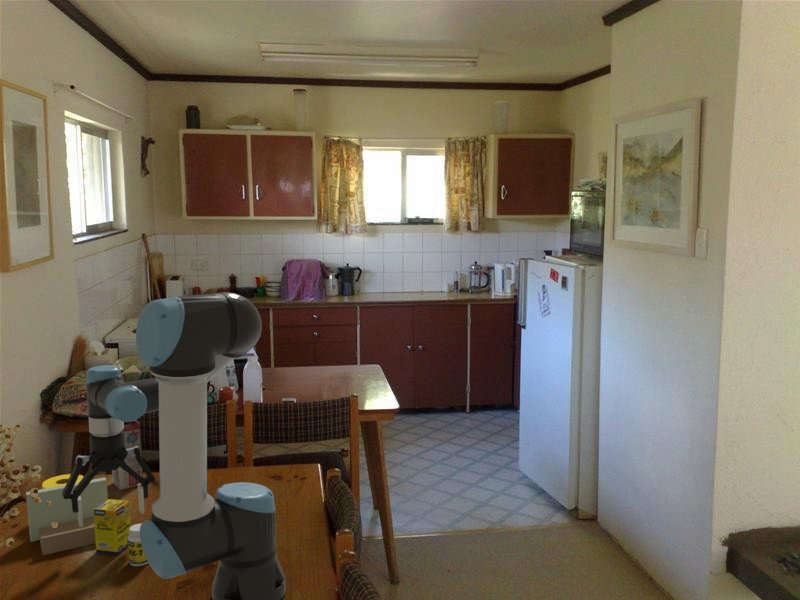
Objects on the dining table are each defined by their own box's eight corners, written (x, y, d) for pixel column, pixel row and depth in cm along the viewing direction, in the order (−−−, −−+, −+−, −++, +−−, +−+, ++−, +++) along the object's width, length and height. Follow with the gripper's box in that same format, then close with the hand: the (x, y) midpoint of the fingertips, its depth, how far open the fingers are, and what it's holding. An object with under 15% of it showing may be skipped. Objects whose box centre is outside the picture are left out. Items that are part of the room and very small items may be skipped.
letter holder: (115, 538, 172) (112, 492, 171) (33, 557, 163) (29, 508, 162) (108, 521, 182) (105, 477, 180) (29, 538, 173) (26, 492, 171)
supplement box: (118, 555, 164) (115, 510, 163) (95, 553, 165) (92, 508, 164) (132, 543, 170) (130, 500, 169) (110, 541, 171) (107, 498, 170)
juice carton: (135, 477, 211) (131, 406, 209) (143, 484, 206) (139, 411, 203) (112, 483, 207) (108, 410, 204) (120, 489, 202) (115, 415, 199)
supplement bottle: (125, 566, 159) (122, 531, 158) (135, 556, 164) (133, 521, 163) (144, 567, 159) (142, 532, 157) (155, 557, 163) (153, 522, 162)
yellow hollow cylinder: (66, 505, 192) (63, 472, 191) (94, 510, 189) (92, 476, 187) (35, 520, 183) (33, 486, 182) (65, 526, 179) (62, 491, 178)
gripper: (158, 418, 173) (162, 500, 177) (45, 435, 161) (52, 523, 164) (165, 427, 167) (169, 511, 170) (48, 446, 154) (55, 536, 157)
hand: (111, 517), depth 167 cm, fingers open, 13 cm apart
